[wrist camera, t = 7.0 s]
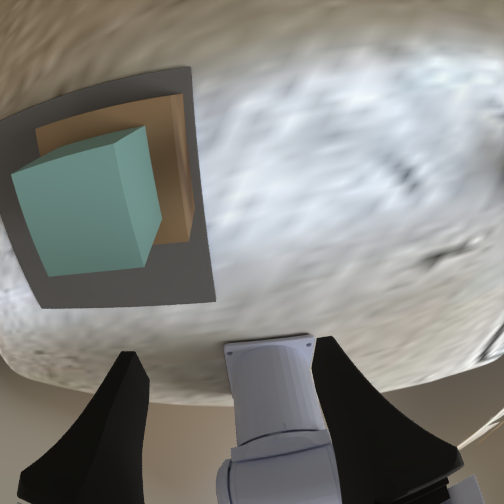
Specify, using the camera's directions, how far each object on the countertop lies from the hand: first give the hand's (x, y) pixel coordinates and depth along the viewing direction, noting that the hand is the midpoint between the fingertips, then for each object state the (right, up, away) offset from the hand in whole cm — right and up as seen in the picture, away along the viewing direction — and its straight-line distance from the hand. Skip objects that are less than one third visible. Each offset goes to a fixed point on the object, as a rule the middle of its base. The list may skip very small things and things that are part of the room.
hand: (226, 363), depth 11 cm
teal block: (-6, +8, +1) cm, 10 cm away
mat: (-10, +7, +6) cm, 14 cm away
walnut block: (-6, +10, +5) cm, 12 cm away
